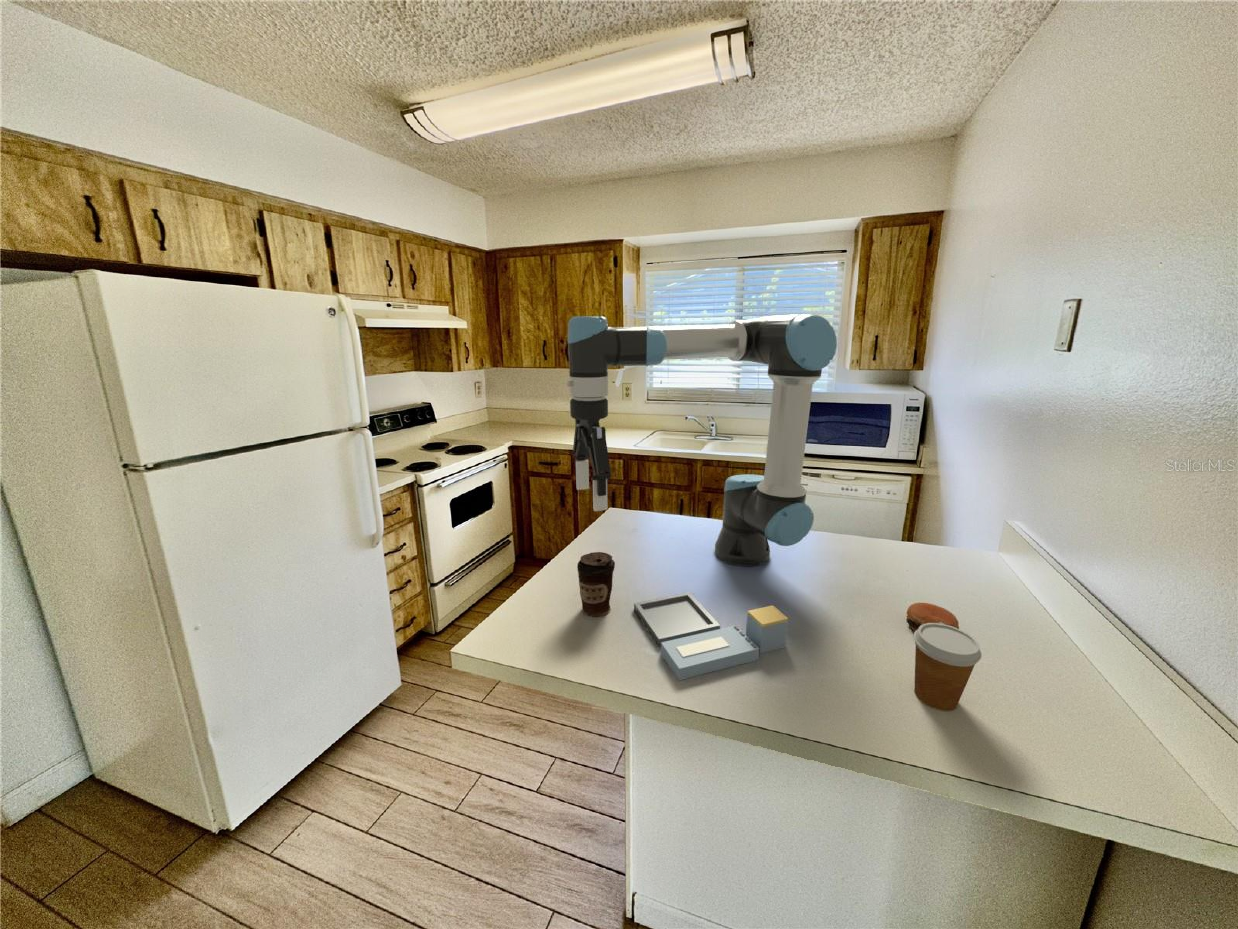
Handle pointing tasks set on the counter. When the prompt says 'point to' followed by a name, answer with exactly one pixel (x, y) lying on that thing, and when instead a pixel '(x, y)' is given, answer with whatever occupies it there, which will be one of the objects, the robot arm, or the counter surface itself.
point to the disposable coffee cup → (943, 664)
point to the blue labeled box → (708, 652)
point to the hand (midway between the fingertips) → (591, 498)
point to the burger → (929, 615)
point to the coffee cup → (595, 582)
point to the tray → (674, 617)
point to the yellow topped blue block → (767, 628)
